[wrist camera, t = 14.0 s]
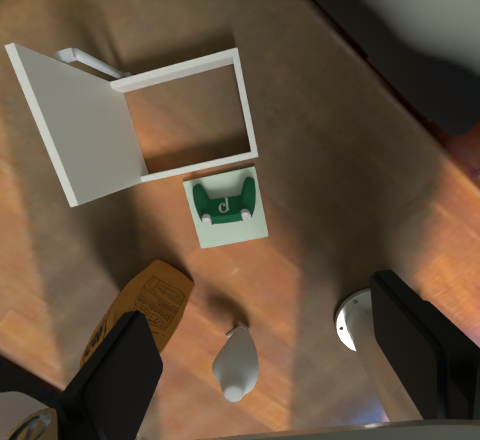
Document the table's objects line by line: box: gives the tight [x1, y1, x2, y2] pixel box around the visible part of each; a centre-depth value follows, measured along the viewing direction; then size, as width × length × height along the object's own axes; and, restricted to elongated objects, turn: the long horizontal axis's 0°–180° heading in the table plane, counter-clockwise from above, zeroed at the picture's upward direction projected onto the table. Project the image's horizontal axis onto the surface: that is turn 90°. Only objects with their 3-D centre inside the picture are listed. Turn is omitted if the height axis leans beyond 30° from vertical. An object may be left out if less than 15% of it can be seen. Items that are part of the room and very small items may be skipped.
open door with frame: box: [5, 43, 258, 207], centre depth 29 cm, size 18×14×17 cm
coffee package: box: [79, 259, 195, 370], centre depth 35 cm, size 10×12×22 cm
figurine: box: [212, 325, 259, 402], centre depth 42 cm, size 8×5×12 cm
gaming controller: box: [192, 177, 256, 225], centre depth 38 cm, size 9×4×6 cm
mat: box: [183, 166, 269, 249], centre depth 40 cm, size 11×11×1 cm
